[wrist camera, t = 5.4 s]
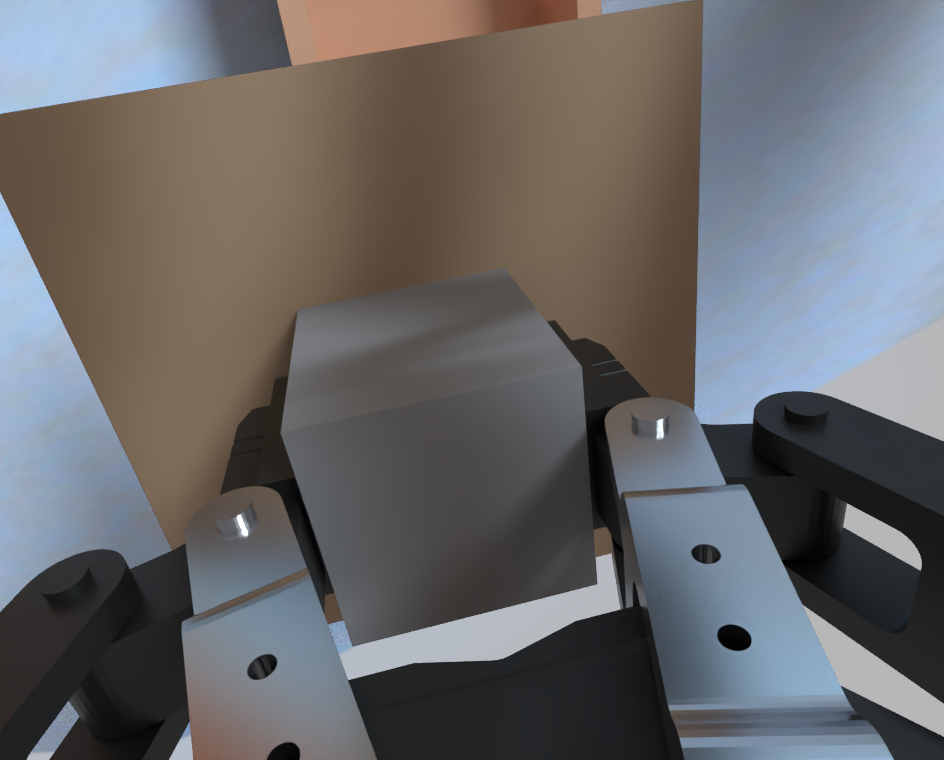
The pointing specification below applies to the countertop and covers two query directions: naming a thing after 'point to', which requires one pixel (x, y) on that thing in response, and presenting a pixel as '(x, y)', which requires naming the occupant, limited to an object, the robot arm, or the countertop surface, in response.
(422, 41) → the terracotta storage tray
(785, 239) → the countertop surface
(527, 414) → the lid
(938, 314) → the countertop surface
